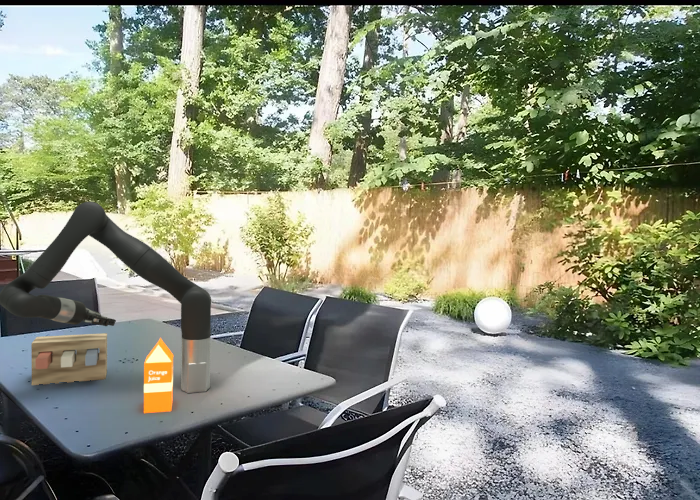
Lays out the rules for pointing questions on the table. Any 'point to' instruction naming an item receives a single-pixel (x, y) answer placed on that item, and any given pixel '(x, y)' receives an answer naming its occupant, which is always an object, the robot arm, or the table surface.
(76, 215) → the robot arm
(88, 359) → the blue key
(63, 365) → the white key
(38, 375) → the key box
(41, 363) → the red key
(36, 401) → the table surface
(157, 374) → the orange juice
